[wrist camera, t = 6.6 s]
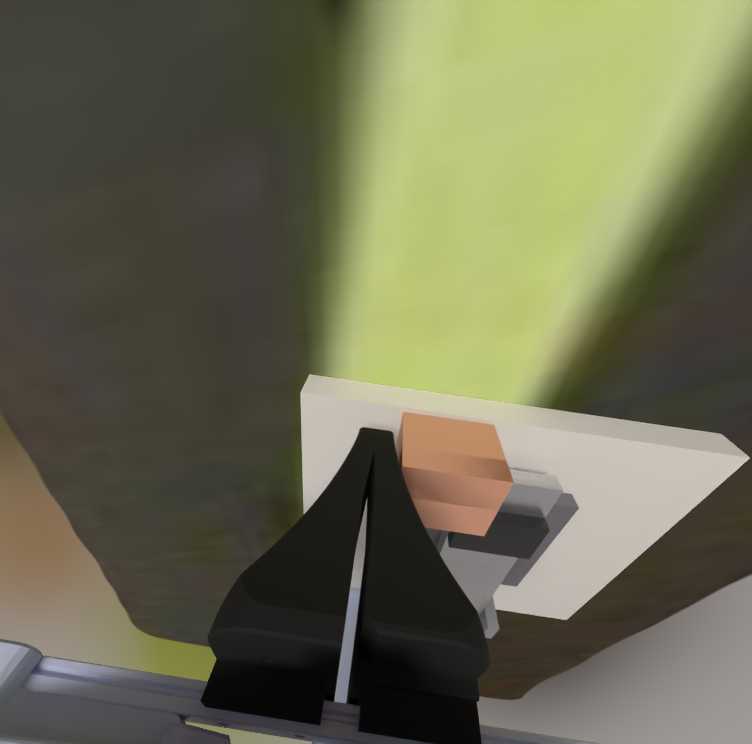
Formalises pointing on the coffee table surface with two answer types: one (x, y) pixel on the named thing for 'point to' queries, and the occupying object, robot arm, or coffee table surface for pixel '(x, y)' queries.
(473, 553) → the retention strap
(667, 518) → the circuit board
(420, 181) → the coffee table surface
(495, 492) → the block
